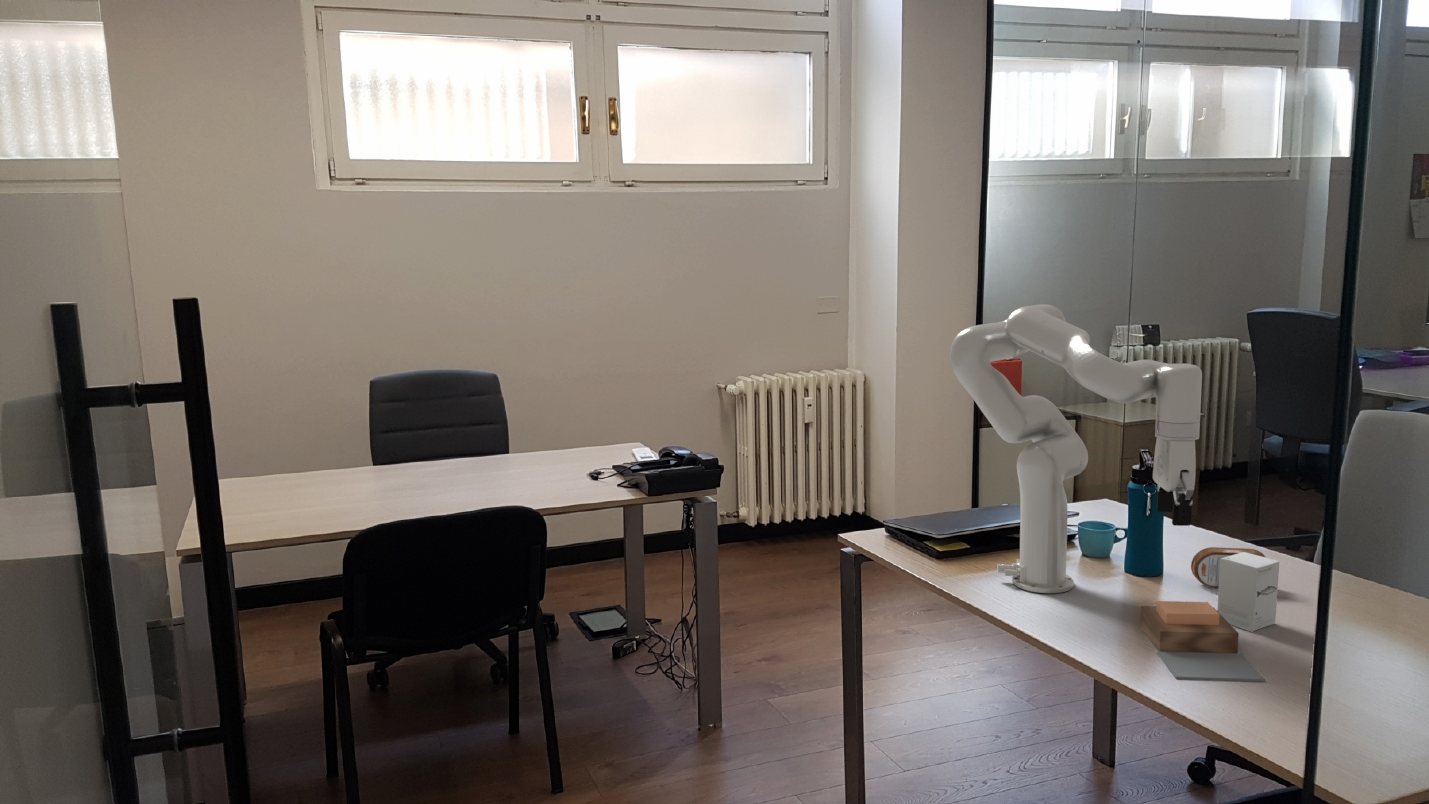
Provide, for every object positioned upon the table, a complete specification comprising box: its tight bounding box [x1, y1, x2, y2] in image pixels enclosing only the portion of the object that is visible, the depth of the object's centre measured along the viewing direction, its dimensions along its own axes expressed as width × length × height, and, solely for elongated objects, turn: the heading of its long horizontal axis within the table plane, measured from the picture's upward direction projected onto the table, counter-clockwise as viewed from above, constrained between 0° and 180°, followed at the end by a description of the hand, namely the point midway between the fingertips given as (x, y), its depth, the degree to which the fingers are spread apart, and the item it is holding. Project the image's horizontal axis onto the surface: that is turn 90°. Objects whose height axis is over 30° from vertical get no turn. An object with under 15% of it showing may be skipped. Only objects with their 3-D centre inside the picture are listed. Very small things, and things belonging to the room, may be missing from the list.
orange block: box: [1155, 600, 1220, 625], centre depth 173 cm, size 9×6×2 cm, turn 81°
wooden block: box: [1139, 605, 1239, 654], centre depth 173 cm, size 13×12×4 cm
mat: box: [1157, 650, 1266, 683], centre depth 162 cm, size 14×10×1 cm
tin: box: [1190, 546, 1267, 589], centre depth 197 cm, size 15×3×8 cm, turn 78°
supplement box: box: [1216, 552, 1280, 633], centre depth 179 cm, size 7×7×13 cm
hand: (1173, 517), depth 180 cm, fingers open, 8 cm apart
